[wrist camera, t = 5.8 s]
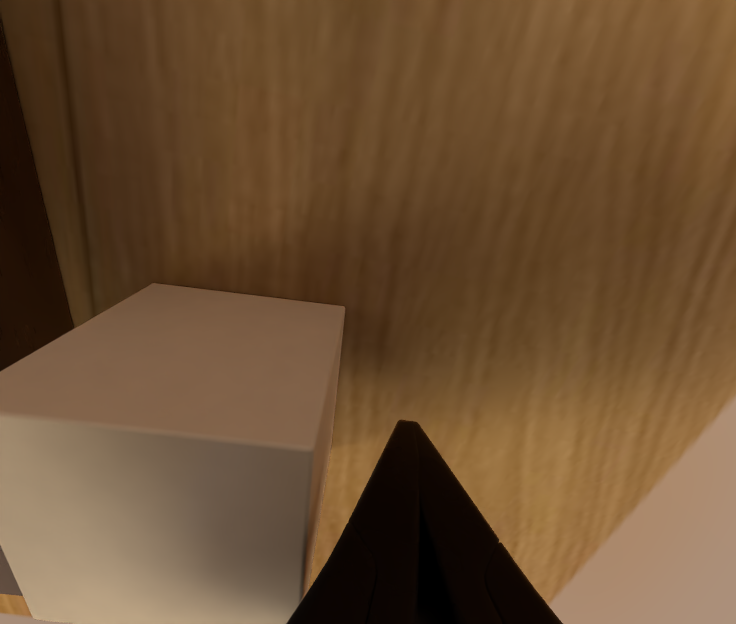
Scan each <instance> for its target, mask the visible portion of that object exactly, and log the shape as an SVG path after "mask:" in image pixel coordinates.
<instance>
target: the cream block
mask: <svg viewBox="0 0 736 624" xmlns="http://www.w3.org/2000/svg"><path fill="white" fill-rule="evenodd" d="M344 318H345V307H344V306H338V305H330V304H321V303H313V302H305V301H297V300H289V299H280V298H272V297H264V296H256V295H247V294H239V293H231V292H223V291H215V290H206V289H198V288H190V287H182V286H173V285H165V284H157V283H152V284H150V285H149V286H147V287H145V288H143V289H142V290H140V291H138V292H137V293H135V294H133V295H131V296H130V297H128V298H126V299H124V300H123V301H121V302H119V303H118V304H116V305H114V306H112V307H111V308H109V309H107V310H106V311H104V312H102V313H100V314H99V315H97V316H95V317H93V318H92V319H90V320H88V321H87V322H85V323H83V324H81V325H80V326H78V327H76V328H74V329H73V330H71V331H69V332H68V333H66V334H64V335H62V336H61V337H59V338H57V339H56V340H54V341H52V342H50V343H49V344H47V345H45V346H43V347H42V348H40V349H38V350H37V351H35V352H33V353H31V354H30V355H28V356H26V357H25V358H23V359H21V360H19V361H18V362H16V363H14V364H12V365H11V366H9V367H7V368H6V369H4V370H2V371H0V545H1V547H2V550H3V552H4V554H5V556H6V559H7V561H8V563H9V565H10V568H11V570H12V572H13V574H14V577H15V579H16V581H17V583H18V585H19V588H20V590H21V592H22V594H23V597H24V599H25V601H26V603H27V606H28V608H29V610H30V612H31V615H32V617H33V618H34V619H35V620H44V621H55V622H64V623H74V624H286V623H287V622H288V620H289V619H290V617H291V616H292V614H293V613H294V611H295V610H296V608H297V607H298V605H299V604H300V602H301V601H302V600H303V598H304V597H305V595H306V594H307V592H308V587H309V581H310V575H311V569H312V563H313V557H314V550H315V544H316V538H317V532H318V526H319V520H320V514H321V508H322V502H323V495H324V489H325V483H326V477H327V471H328V465H329V459H330V453H331V444H332V435H333V425H334V415H335V405H336V396H337V386H338V376H339V367H340V357H341V347H342V337H343V328H344Z"/></svg>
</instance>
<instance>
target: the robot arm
mask: <svg viewBox="0 0 736 624" xmlns="http://www.w3.org/2000/svg"><path fill="white" fill-rule="evenodd" d="M286 624H563V623H562V622H561V621H560V620H559V619H558V617H557V616H556V615H555V614H554V612H553V611H552V610H551V609H550V607H549V606H548V605H547V604H546V602H545V601H544V600H543V598H542V597H541V596H540V595H539V593H538V592H537V591H536V590H535V588H534V587H533V586H532V584H531V583H530V582H529V580H528V579H527V578H526V576H525V575H524V574H523V572H522V571H521V569H520V568H519V567H518V565H517V564H516V563H515V561H514V560H513V558H512V557H511V556H510V554H509V553H508V551H507V550H506V548H505V547H504V545H503V544H502V543H500V542H499V539H498V537H497V536H496V534H495V533H494V531H493V530H492V528H491V527H490V526H489V524H488V523H487V521H486V520H485V518H484V517H483V516H482V514H481V513H480V511H479V510H478V508H477V507H476V505H475V504H474V503H473V501H472V500H471V498H470V497H469V495H468V494H467V493H466V491H465V490H464V488H463V487H462V485H461V484H460V482H459V481H458V480H457V478H456V477H455V475H454V474H453V472H452V471H451V470H450V468H449V467H448V465H447V464H446V462H445V461H444V460H443V458H442V457H441V455H440V454H439V452H438V451H437V449H436V448H435V447H434V445H433V444H432V442H431V441H430V439H429V438H428V437H427V435H426V434H425V432H424V431H423V429H422V428H421V426H420V425H419V424H418V423H417V422H414V421H406V420H399V421H398V422H397V424H396V426H395V428H394V430H393V432H392V434H391V436H390V438H389V440H388V442H387V444H386V447H385V449H384V451H383V453H382V455H381V457H380V459H379V461H378V463H377V465H376V467H375V469H374V471H373V473H372V475H371V477H370V479H369V481H368V483H367V485H366V487H365V489H364V491H363V493H362V495H361V497H360V499H359V501H358V503H357V505H356V507H355V509H354V511H353V513H352V515H351V517H350V519H349V522H348V523H347V525H346V527H345V529H344V531H343V533H342V535H341V537H340V539H339V541H338V542H337V544H336V546H335V548H334V550H333V552H332V554H331V555H330V557H329V559H328V561H327V562H326V564H325V566H324V567H323V569H322V570H321V572H320V574H319V575H318V577H317V578H316V580H315V582H314V583H313V585H312V586H311V588H310V589H309V591H308V592H307V594H306V595H305V597H304V598H303V600H302V601H301V602H300V604H299V605H298V607H297V608H296V610H295V611H294V613H293V614H292V616H291V617H290V619H289V620H288V622H287V623H286Z"/></svg>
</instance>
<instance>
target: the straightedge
mask: <svg viewBox="0 0 736 624" xmlns="http://www.w3.org/2000/svg"><path fill="white" fill-rule="evenodd" d="M71 330H73V326H72V321H71V317H70V313H69V309H68V305H67V300H66V296H65V292H64V288H63V284H62V280H61V275H60V271H59V267H58V263H57V259H56V254H55V250H54V246H53V242H52V238H51V234H50V229H49V225H48V221H47V217H46V213H45V208H44V204H43V200H42V196H41V192H40V188H39V183H38V179H37V175H36V171H35V167H34V162H33V158H32V154H31V150H30V146H29V141H28V137H27V133H26V129H25V125H24V121H23V116H22V112H21V108H20V104H19V100H18V95H17V91H16V87H15V83H14V79H13V75H12V70H11V66H10V62H9V58H8V54H7V49H6V45H5V41H4V37H3V33H2V29H1V24H0V371H2V370H4V369H6V368H7V367H9V366H11V365H12V364H14V363H16V362H18V361H19V360H21V359H23V358H25V357H26V356H28V355H30V354H31V353H33V352H35V351H37V350H38V349H40V348H42V347H43V346H45V345H47V344H49V343H50V342H52V341H54V340H56V339H57V338H59V337H61V336H62V335H64V334H66V333H68V332H69V331H71ZM0 594H9V595H19V596H23V594H22V592H21V590H20V588H19V585H18V583H17V581H16V579H15V577H14V574H13V572H12V570H11V568H10V565H9V563H8V561H7V559H6V556H5V554H4V552H3V550H2V547H1V545H0Z"/></svg>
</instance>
